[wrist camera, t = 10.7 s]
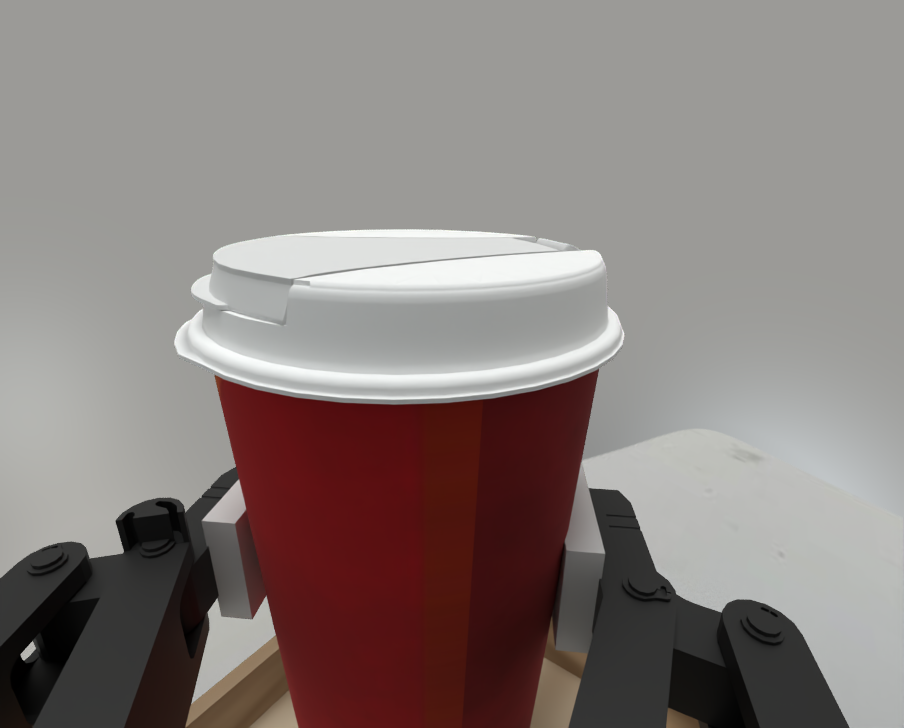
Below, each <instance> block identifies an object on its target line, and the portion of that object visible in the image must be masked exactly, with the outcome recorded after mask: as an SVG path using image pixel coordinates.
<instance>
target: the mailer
mask: <svg viewBox="0 0 904 728" xmlns="http://www.w3.org/2000/svg"><path fill="white" fill-rule="evenodd" d="M587 655H588V653H579V652H570V651H560V650H555V643H554V633H553V623H552V618H551V623H550V628H549V633H548V639H547V644H546V649H545V654H544V659H543V664H542V669H541V675H540V680H539V685H538V690H537V695H536V700H535V705H534V710H533V715H532V720H531V725H530V728H568V727H569V723H570V719H571V715H572V712H573V708H574V704H575V700H576V696H577V693H578V689H579V685H580V681H581V678H582V674H583V670H584V666H585V663H586V659H587ZM185 728H298V724H297V720H296V716H295V712H294V708H293V704H292V700H291V696H290V691H289V687H288V683H287V679H286V675H285V671H284V666H283V662H282V658H281V654H280V650H279V646H278V642H277V637H276V636H274V637H273V638H272V639H271V640H269V641H268V642H267V643H266V644H265V645H263V646H262V647H261V648H260V649H258V650H257V651H256V652H255V653H254V654H252V655H251V656H250V657H249V658H247V659H246V660H245V661H244V662H242V663H241V664H240V665H239V666H238V667H236V668H235V669H234V670H233V671H231V672H230V673H229V674H228V675H227V676H225V677H224V678H223V679H222V680H220V681H219V682H218V683H217V684H216V685H214V686H213V687H212V688H211V689H209V690H208V691H207V692H206V693H205V694H203V695H202V696H201V697H200V698H198V699H197V700H196V701H195V702H194V703H192V704H191V706H190V710H189V714H188V719H187V723H186V727H185ZM666 728H700V727H699V722H698V720H697V719H694V718H692V717H689V716H687V715H685V714H682V713H680V712H677V711H675V710H673V709H670V708H668V712H667V724H666Z"/></svg>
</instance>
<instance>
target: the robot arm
mask: <svg viewBox="0 0 904 728" xmlns="http://www.w3.org/2000/svg"><path fill="white" fill-rule="evenodd" d="M116 525H117V528H118V531H119V535H120V538H121V542H122V546H123V549H124V553H123V554H118V555H111V556H104V557H98V558H91V559H89V555H88V552H87V549H86V547H85V546H84V545H82V544H81V543H76V542H64V543H57V544H53V545H51V546H50V545H49V546H47V547H44V548H42V549H40V550H38V551H36V552H34V553H32V554H30V555H29V556H27V557H26V558H24V559H23V560H21V561H20V562H18V563H17V564H16V565H15V566H14V567H13V568H12V569H10V570H9V571H8V572H7V573H6V574H5V575H4V576H3V577H2V578H0V728H185V727H186V723H187V719H188V714H189V710H190V706H191V702H192V698H193V694H194V690H195V686H196V681H197V677H198V673H199V669H200V665H201V661H202V657H203V653H204V649H205V644H206V640H207V636H208V632H209V618H208V613H207V612H208V611H209V609H210V608H211V606H212V605H213V603H214V602H215V601H216V599H217V598H218V602H219V607H220V612H221V616H223V617H233V618H243V619H253V617H254V616H255V614H256V612H257V610H258V609H259V607H260V605H261V604H262V602H263V600H264V598H265V597H266V591H265V587H264V583H263V578H262V574H261V570H260V566H259V561H258V557H257V553H256V549H255V544H254V540H253V536H252V532H251V527H250V523H249V519H248V515H247V510H246V506H245V502H244V498H243V494H242V489H241V485H240V481H239V477H238V472H237V468H236V467H235V468H233V469H231V470H230V471H228V472H226V473H224V474H223V475H221V476H220V477H219V478H218V480H217V481H216V482H215V483H214V484H213V485H212V486H211V488H210V489H208V490H207V491H206V492H205V493H204V494H203V495H202V498H199V499H198V500H197V501H196V502H195V503H194V504H193V505H192V506H191V507H190V508H189V509H188V510H187V512H186V513H185V509H184V505H183V504H182V503H181V502H180V501H179V500H177V499H173V498H156V499H152V500H148V501H144V502H142V503H139V504H137V505H135V506H133V507H131V508H129V509H128V510H127V511H125V512H123V513H122V514H121V515H120V516H119V517H118V518H117V520H116ZM552 623H553V633H554V643H555V650H560V651H570V652H579V653H588V655H587V659H586V663H585V666H584V670H583V674H582V678H581V681H580V685H579V689H578V693H577V696H576V700H575V704H574V708H573V712H572V715H571V719H570V723H569V727H568V728H666V724H667V712H668V708H670V709H673V710H675V711H677V712H680V713H682V714H685V715H687V716H689V717H692V718H694V719H697V720H698V722H699V727H700V728H849V726H848V724H847V722H846V720H845V718H844V716H843V714H842V712H841V710H840V708H839V706H838V704H837V702H836V700H835V698H834V696H833V694H832V692H831V690H830V688H829V686H828V684H827V682H826V680H825V678H824V676H823V675H822V673H821V671H820V669H819V667H818V665H817V663H816V661H815V659H814V657H813V655H812V653H811V651H810V649H809V647H808V645H807V643H806V641H805V639H804V637H803V635H802V634H801V632H800V631H799V630H798V628H797V627H796V626H795V624H794V623H793V622H792V621H791V620H789V619H788V618H787V617H786V616H785V615H783V614H782V613H781V612H779V611H777V610H775V609H773V608H772V607H770V606H768V605H766V604H763V603H759V602H756V601H753V600H734V601H732V602H729V603H727V605H726V606H725V608H724V609H723V611H722V613H721V612H718V611H715V610H712V609H709V608H706V607H703V606H700V605H697V604H694V603H692V602H689V601H687V600H685V599H683V598H682V597H680V596H678V595H676V592H675V589H674V588H673V587H672V585H671V584H670V582H669V581H668V580H667V579H665V578H664V577H663V576H662V575H660V574H659V573H658V572H657V571H656V569H655V566H654V563H653V561H652V558H651V555H650V553H649V550H648V547H647V545H646V542H645V540H644V537H643V534H642V532H641V531H640V526H639V524H638V521H637V519H636V516H635V513H634V510H633V508H632V505H631V503H630V502H629V501H628V500H627V499H626V498H625V497H624V496H623V495H622V494H621V493H620V492H619V491H618V490H605V489H591V488H588V484H587V481H586V477H585V473H584V469H583V465H582V461H581V466H580V471H579V476H578V481H577V487H576V492H575V497H574V502H573V508H572V513H571V518H570V523H569V529H568V532H567V535H566V538H565V542H564V549H563V555H562V561H561V567H560V573H559V579H558V585H557V591H556V597H555V602H554V608H553V613H552ZM32 641H33V642H34V645H35V647H36V650H35V651H34V652H33V653H32V654H31V655H30V656H29V657H28V658H27V659H26V660H24V661H23V660H22V658H21V655H20V654H21V653H22V652H23V651H24V650H25V648H26V647H27V646H28V645H29V644H30V643H31V642H32Z"/></svg>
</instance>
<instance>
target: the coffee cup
mask: <svg viewBox="0 0 904 728" xmlns="http://www.w3.org/2000/svg"><path fill="white" fill-rule="evenodd" d="M213 262H214V264H213V269H212V273H211V274H209V275H206V276H204V277H201V278H199V279H198V280H197V281H196V282H195V283H194V284H193V286H192V288H191V296H192V297H193V298H194V299H195V300H197V301H198V302H200V303H202V304H203V309H202V310H200V311H199V312H198V313H197V314H196V315H195V316H194V317H193V319H192V320H189V321H187V322H185V324H184V325H183V326H182V327H181V328H180V329H179V330H178V332H177V334H176V338H175V341H174V344H175V348H176V351H177V354H178V357H179V358H180V359H183V360H185V361H187V362H189V363H191V364H194V365H196V366H198V367H200V368H203V369H205V370H206V371H208V372H211V373H212V374H214V375H215V379H216V384H217V388H218V392H219V396H220V401H221V405H222V409H223V413H224V417H225V422H226V426H227V430H228V434H229V438H230V443H231V447H232V451H233V455H234V460H235V464H236V468H237V472H238V477H239V481H240V485H241V489H242V494H243V498H244V502H245V506H246V510H247V515H248V519H249V523H250V527H251V532H252V536H253V540H254V544H255V549H256V553H257V557H258V561H259V566H260V570H261V574H262V578H263V583H264V587H265V591H266V595H267V599H268V604H269V608H270V612H271V616H272V621H273V625H274V629H275V633H276V637H277V642H278V646H279V650H280V654H281V658H282V662H283V666H284V671H285V675H286V679H287V683H288V687H289V691H290V696H291V700H292V704H293V708H294V712H295V716H296V720H297V724H298V728H530V725H531V720H532V715H533V710H534V705H535V700H536V695H537V690H538V685H539V680H540V675H541V669H542V664H543V659H544V654H545V649H546V644H547V639H548V633H549V628H550V623H551V618H552V613H553V608H554V602H555V597H556V591H557V585H558V579H559V573H560V567H561V561H562V555H563V549H564V542H565V538H566V535H567V532H568V529H569V523H570V518H571V513H572V508H573V502H574V497H575V492H576V487H577V481H578V476H579V471H580V466H581V461H582V455H583V450H584V445H585V440H586V434H587V429H588V424H589V418H590V414H591V408H592V403H593V398H594V392H595V387H596V382H597V377H598V372H599V368H600V367H602V366H604V365H605V364H607V363H608V362H610V361H611V360H613V359H614V357H615V356H616V355H617V354H618V353H619V351H620V350H621V349H622V346H623V341H624V335H625V334H624V331H623V329H622V326H621V324H620V321H619V318H618V316H617V314H616V313H615V312H614V311H613V310H612V309H611V308H610V307H608V299H607V298H608V297H607V296H608V295H607V270H606V266H605V264H604V261H603V260H602V257H601V255H600V253H598V252H597V251H595V250H587V251H581V250H580V249H579V248H577V247H575V246H572V245H569V244H565V243H560V242H556V241H551V240H547V239H543V238H539V239H538V240H536V237H533V236H524V235H515V234H504V233H489V232H473V231H453V230H350V231H330V232H314V233H302V234H289V235H279V236H272V237H266V238H260V239H254V240H248V241H243V242H238V243H234V244H230V245H227V246H225V247H222V248H220V249H218V250H217V251H216V252H215V253H214V254H213Z"/></svg>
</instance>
